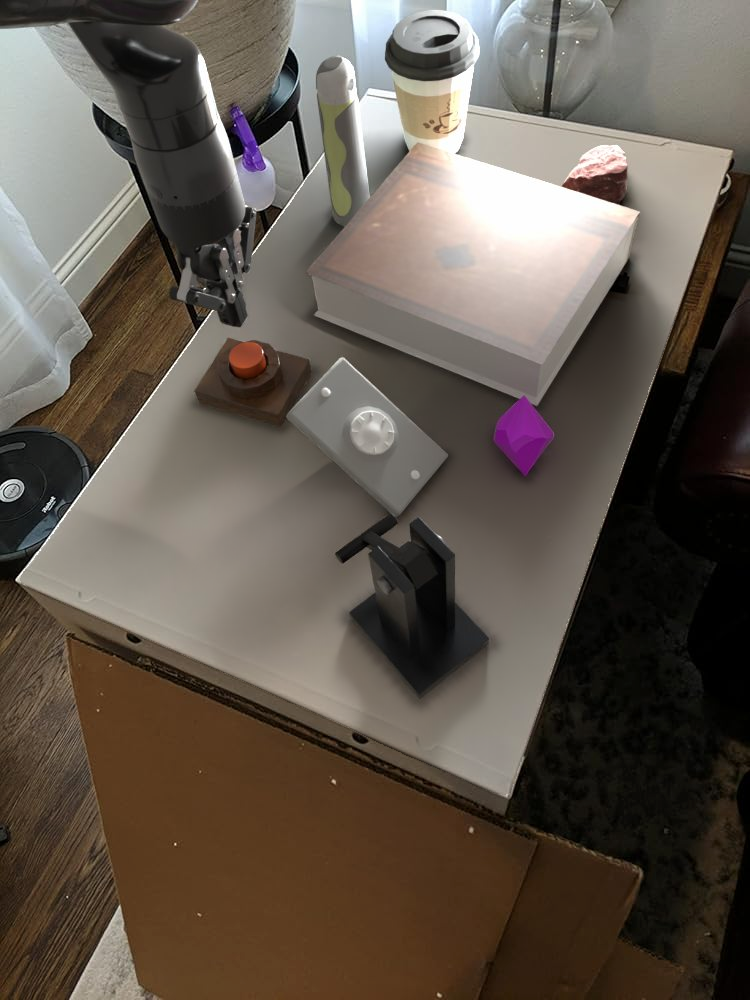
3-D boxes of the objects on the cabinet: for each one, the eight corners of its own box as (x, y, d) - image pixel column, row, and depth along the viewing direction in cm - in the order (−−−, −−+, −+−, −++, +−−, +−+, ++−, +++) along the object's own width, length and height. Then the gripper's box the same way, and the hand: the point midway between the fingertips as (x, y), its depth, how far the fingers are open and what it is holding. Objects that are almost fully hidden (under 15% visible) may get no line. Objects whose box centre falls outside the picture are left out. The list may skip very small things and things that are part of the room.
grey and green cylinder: (357, 234, 105) (339, 81, 88) (325, 221, 106) (300, 68, 89) (379, 210, 107) (365, 56, 90) (347, 197, 108) (327, 44, 91)
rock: (622, 190, 109) (559, 177, 110) (637, 141, 104) (572, 128, 105) (618, 230, 102) (551, 216, 102) (635, 179, 97) (565, 165, 98)
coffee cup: (414, 183, 109) (409, 71, 96) (376, 134, 115) (367, 23, 102) (493, 153, 111) (498, 39, 98) (452, 106, 116) (452, -6, 104)
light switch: (402, 513, 82) (289, 410, 80) (382, 525, 87) (276, 429, 86) (453, 452, 85) (345, 351, 84) (431, 467, 90) (329, 373, 89)
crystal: (486, 446, 87) (487, 419, 83) (525, 418, 88) (528, 390, 85) (521, 479, 85) (524, 452, 81) (561, 449, 86) (566, 421, 82)
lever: (342, 567, 73) (329, 545, 72) (396, 527, 75) (385, 505, 74) (397, 605, 65) (383, 580, 64) (457, 559, 66) (445, 534, 65)
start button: (257, 382, 89) (253, 371, 87) (226, 374, 90) (222, 363, 88) (271, 357, 91) (268, 346, 89) (241, 349, 92) (238, 338, 90)
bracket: (349, 617, 78) (329, 539, 66) (417, 566, 80) (410, 482, 68) (419, 699, 74) (412, 633, 61) (489, 643, 76) (496, 568, 63)
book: (419, 187, 108) (417, 142, 103) (629, 257, 99) (639, 211, 94) (313, 315, 98) (305, 272, 93) (536, 405, 89) (542, 364, 84)
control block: (281, 427, 90) (275, 404, 87) (198, 404, 93) (189, 380, 89) (312, 371, 94) (307, 347, 91) (232, 350, 96) (224, 325, 93)
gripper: (190, 235, 66) (239, 379, 80) (265, 130, 72) (297, 282, 86) (108, 216, 68) (170, 360, 82) (187, 115, 74) (232, 266, 88)
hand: (235, 320), depth 84 cm, fingers closed
